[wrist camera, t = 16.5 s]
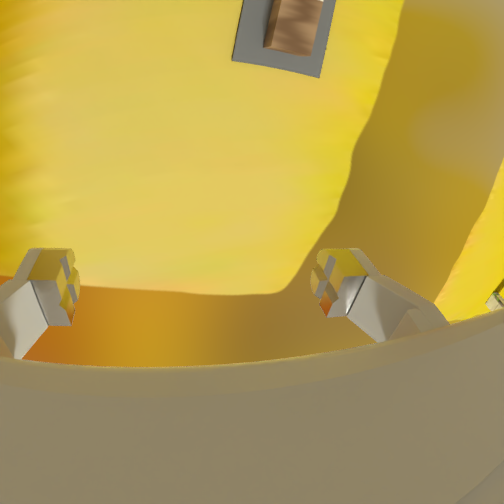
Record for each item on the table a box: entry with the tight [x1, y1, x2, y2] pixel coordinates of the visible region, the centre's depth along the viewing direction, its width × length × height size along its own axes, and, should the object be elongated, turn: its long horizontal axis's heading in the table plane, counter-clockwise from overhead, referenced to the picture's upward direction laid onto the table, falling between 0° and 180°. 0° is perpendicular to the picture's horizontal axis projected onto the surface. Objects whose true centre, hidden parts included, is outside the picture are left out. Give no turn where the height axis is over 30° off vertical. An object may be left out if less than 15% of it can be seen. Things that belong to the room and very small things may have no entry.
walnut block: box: [263, 0, 324, 56], centre depth 28 cm, size 5×4×11 cm
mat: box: [232, 0, 336, 78], centre depth 28 cm, size 12×20×1 cm, turn 170°
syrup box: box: [485, 292, 504, 311], centre depth 81 cm, size 6×6×14 cm
